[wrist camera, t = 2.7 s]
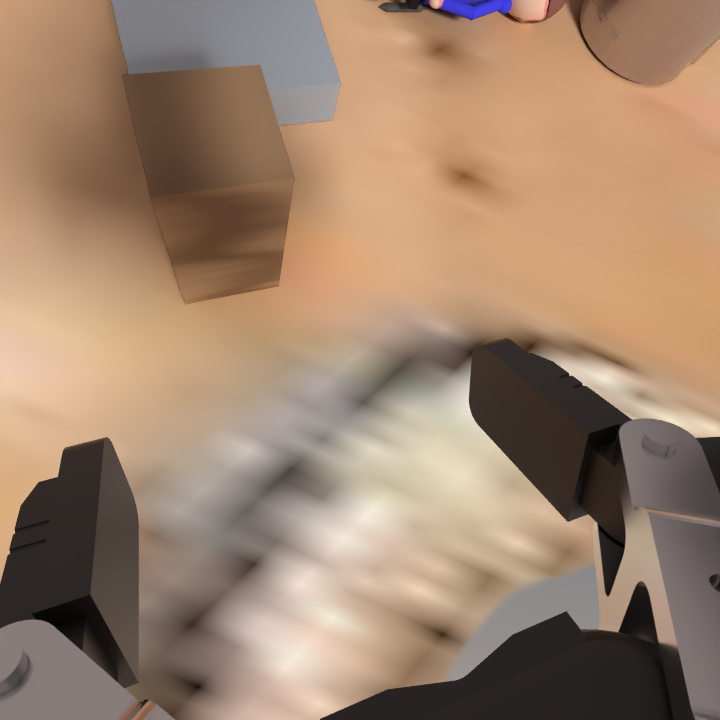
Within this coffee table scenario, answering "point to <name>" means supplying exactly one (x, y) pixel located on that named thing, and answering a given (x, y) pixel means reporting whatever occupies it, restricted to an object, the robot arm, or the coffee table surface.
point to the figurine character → (485, 8)
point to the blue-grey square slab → (237, 46)
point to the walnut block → (214, 176)
